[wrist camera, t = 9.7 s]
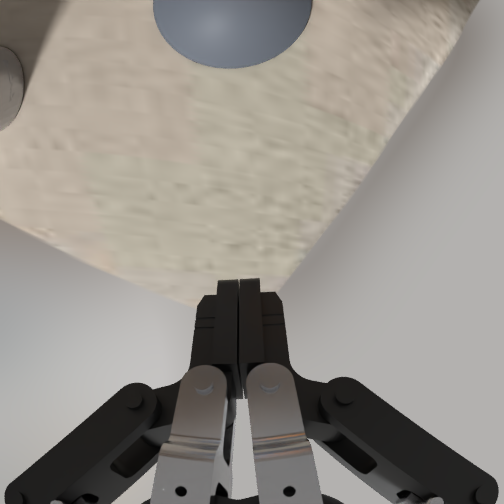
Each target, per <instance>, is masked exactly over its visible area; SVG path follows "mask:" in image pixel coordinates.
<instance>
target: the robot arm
mask: <svg viewBox="0 0 504 504" xmlns="http://www.w3.org/2000/svg"><path fill="white" fill-rule="evenodd" d="M23 89H24V80H23V72H22V68H21V65H20V62H19V60H18V58H17V57H16V55H15V54H14V53H13V52H12V51H11V50H9V49H8V48H5V47H0V131H1V130H3V129H5V128H6V127H7V126H8V125H9V124H10V123H11V122H12V121H13V120H14V118H15V116H16V115H17V113H18V111H19V108H20V105H21V102H22V97H23ZM243 389H244V396H245V399H248V407H249V415H250V425H251V432H252V442H253V453H254V462H255V471H256V478H257V487H258V495H257V496H254V497H249V498H245V499H241V500H235V499H231V494H232V458H233V446H234V435H235V423H236V399H243ZM307 438H310V439H313V440H314V441H315V442H316V443H317V444H318V445H320V446H321V447H322V448H323V449H324V450H325V451H327V452H328V453H329V454H330V455H331V456H333V457H334V458H335V459H336V460H337V461H339V462H340V463H341V464H342V465H343V466H345V467H346V468H347V469H348V470H350V471H351V472H352V473H353V474H355V475H356V476H357V477H358V478H360V479H361V480H362V481H363V482H365V483H366V484H367V485H369V486H370V487H371V488H373V489H374V490H375V491H376V492H378V493H379V494H380V495H382V496H383V497H385V498H386V499H387V500H389V501H390V502H391V503H393V504H495V503H496V501H497V498H498V485H497V482H496V480H495V479H494V478H493V477H492V476H491V475H489V474H488V473H486V472H485V471H483V470H482V469H480V468H479V467H477V466H476V465H474V464H473V463H471V462H470V461H468V460H467V459H465V458H464V457H462V456H461V455H459V454H458V453H456V452H455V451H454V450H452V449H451V448H449V447H448V446H446V445H445V444H444V443H442V442H441V441H439V440H438V439H436V438H435V437H433V436H432V435H431V434H429V433H428V432H426V431H425V430H424V429H422V428H421V427H420V426H418V425H417V424H415V423H414V422H413V421H411V420H410V419H409V418H407V417H406V416H404V415H403V414H402V413H400V412H399V411H398V410H396V409H395V408H393V407H392V406H391V405H389V404H388V403H387V402H385V401H384V400H383V399H381V398H380V397H379V396H377V395H376V394H374V393H373V392H372V391H370V390H369V389H368V388H366V387H365V386H364V385H363V384H361V383H360V382H359V381H357V380H355V379H353V378H349V377H339V378H335V379H332V380H331V381H329V382H328V383H322V382H317V381H311V380H308V379H305V378H303V377H301V376H300V375H298V374H297V373H296V372H295V371H294V370H293V368H292V366H291V364H290V361H289V352H288V344H287V336H286V328H285V320H284V313H283V305H282V301H281V300H280V298H279V297H278V295H277V294H276V292H260V278H254V279H240V289H239V281H238V279H237V280H218V285H217V295H204V297H203V298H202V300H201V301H200V303H199V304H198V306H197V313H196V321H195V330H194V336H193V344H192V352H191V361H190V367H189V370H188V372H187V373H185V375H184V376H183V378H182V379H181V380H179V381H178V382H176V383H174V384H172V385H169V386H165V387H161V388H157V389H153V390H152V389H151V387H149V386H148V385H146V384H143V383H131V384H128V385H126V386H124V387H123V388H122V389H120V390H119V391H118V392H117V393H116V394H115V395H114V396H112V397H111V398H110V399H109V400H108V401H107V402H105V403H104V404H103V405H102V406H101V407H100V408H99V409H97V410H96V411H95V412H94V413H93V414H92V415H90V416H89V417H88V418H87V419H86V420H85V421H84V422H82V423H81V424H80V425H79V426H78V427H76V428H75V429H74V430H73V431H72V432H71V433H69V435H67V436H66V437H65V438H64V439H62V440H61V441H60V442H59V443H58V444H57V445H56V446H54V447H53V448H52V449H51V450H50V451H48V452H47V453H46V454H45V455H44V456H42V457H41V458H40V459H39V460H38V461H36V462H35V463H34V464H33V465H32V466H31V467H29V468H28V469H27V470H26V471H25V472H23V473H22V474H21V475H20V476H19V477H17V478H16V479H15V480H14V481H12V482H11V483H10V484H9V485H8V486H7V488H6V491H5V504H111V503H112V502H113V501H114V500H116V499H117V498H118V497H119V496H120V495H121V494H123V493H124V492H125V491H126V490H127V489H128V488H129V487H130V486H132V485H133V484H134V483H135V482H136V481H137V480H138V479H139V478H140V477H141V476H143V475H144V474H145V473H146V472H147V471H148V470H149V469H150V468H151V467H152V466H153V465H154V464H155V463H157V467H156V473H155V478H154V484H153V489H152V495H151V498H150V499H149V500H147V501H145V502H143V503H142V504H343V503H342V502H340V501H339V500H337V499H335V498H332V497H330V496H327V495H324V494H321V491H320V486H319V481H318V476H317V471H316V466H315V461H314V456H313V452H312V448H311V444H310V442H309V440H308V439H307Z"/></svg>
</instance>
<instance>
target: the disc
mask: <svg viewBox="0 0 504 504" xmlns="http://www.w3.org/2000/svg"><path fill="white" fill-rule="evenodd" d="M153 10H154V17H155V20H156V24H157V26H158V28H159V31H160V33H161V34H162V36H163V37H164V39H165V40H166V41H167V42H168V43H169V45H170V46H171V47H172V48H173V49H175V50H176V51H177V52H178V53H180V54H181V55H183V56H185V57H186V58H188V59H190V60H192V61H194V62H197V63H200V64H203V65H206V66H211V67H216V68H242V67H249V66H253V65H257V64H260V63H263V62H265V61H268V60H270V59H272V58H274V57H276V56H277V55H279V54H280V53H282V52H284V51H285V50H286V49H287V48H288V47H290V46H291V45H292V44H293V43H294V42H295V41H296V40H297V38H298V37H299V36H300V34H301V33H302V31H303V30H304V28H305V26H306V24H307V21H308V18H309V15H310V10H311V0H154V1H153Z"/></svg>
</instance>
